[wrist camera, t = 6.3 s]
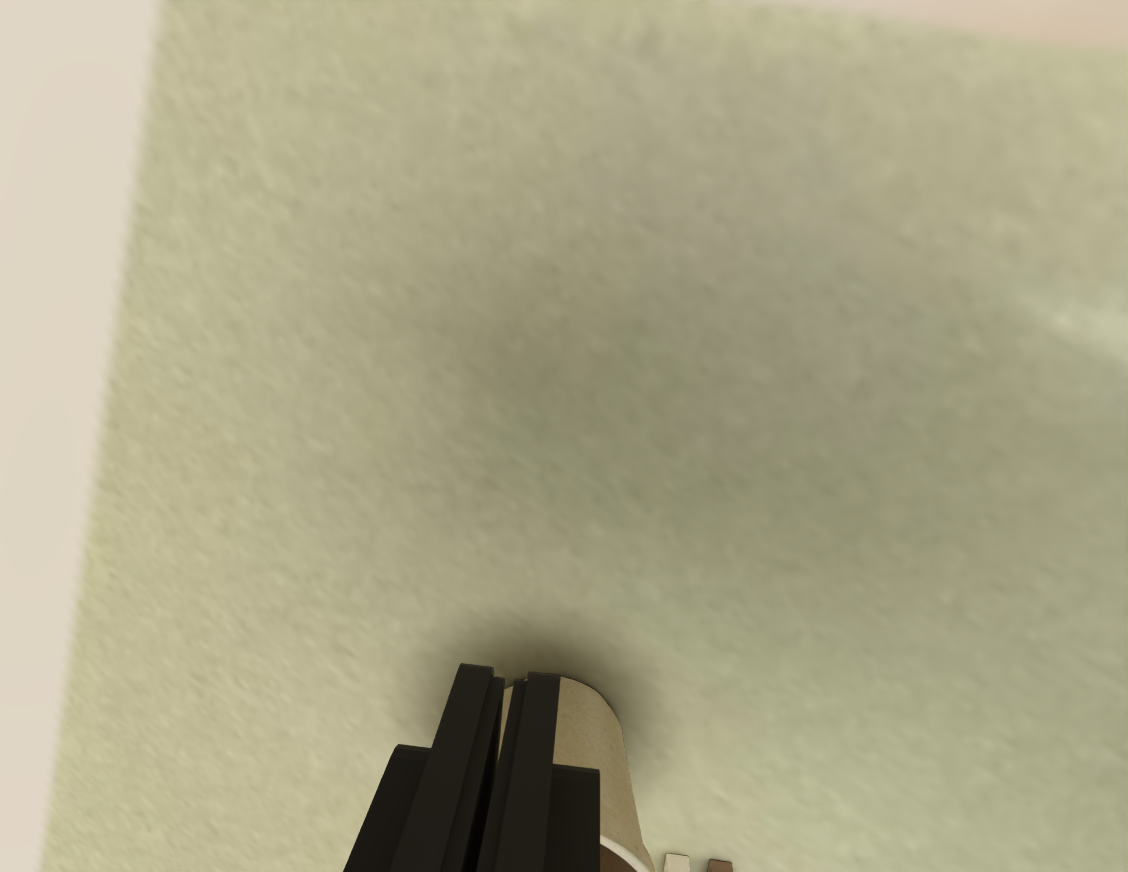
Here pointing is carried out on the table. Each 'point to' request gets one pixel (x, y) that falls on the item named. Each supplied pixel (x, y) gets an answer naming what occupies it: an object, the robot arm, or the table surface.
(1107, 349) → the table surface
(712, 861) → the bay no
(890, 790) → the table surface
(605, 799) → the flower pot
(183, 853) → the table surface
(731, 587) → the table surface
